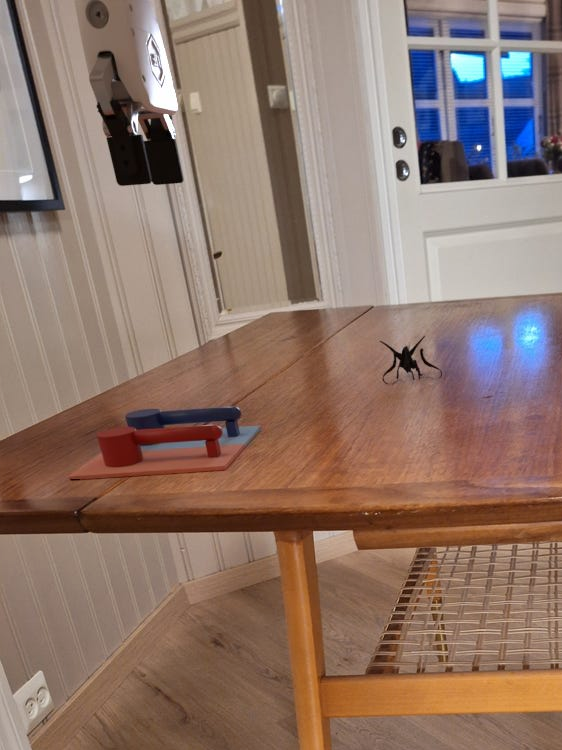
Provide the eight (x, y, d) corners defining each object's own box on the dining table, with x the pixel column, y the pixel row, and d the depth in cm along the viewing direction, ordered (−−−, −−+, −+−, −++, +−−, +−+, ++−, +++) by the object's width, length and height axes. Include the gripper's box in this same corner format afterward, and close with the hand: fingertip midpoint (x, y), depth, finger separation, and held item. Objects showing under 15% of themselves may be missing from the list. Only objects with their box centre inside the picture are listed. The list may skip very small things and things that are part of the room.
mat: (69, 480, 82) (68, 476, 82) (126, 438, 95) (125, 434, 95) (225, 469, 81) (224, 465, 81) (261, 428, 95) (260, 425, 94)
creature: (447, 389, 111) (432, 364, 117) (446, 348, 108) (431, 325, 114) (387, 396, 110) (375, 371, 115) (384, 355, 106) (372, 331, 112)
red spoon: (99, 468, 83) (90, 437, 82) (113, 457, 87) (105, 428, 85) (222, 460, 83) (215, 429, 82) (231, 449, 86) (225, 419, 85)
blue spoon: (127, 447, 90) (119, 418, 89) (139, 437, 93) (132, 409, 92) (241, 439, 90) (235, 410, 88) (249, 430, 93) (243, 402, 91)
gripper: (110, -56, 70) (161, 182, 78) (177, -15, 86) (213, 181, 94) (20, -48, 71) (80, 188, 79) (102, -9, 86) (145, 186, 94)
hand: (152, 184), depth 86 cm, fingers open, 9 cm apart
